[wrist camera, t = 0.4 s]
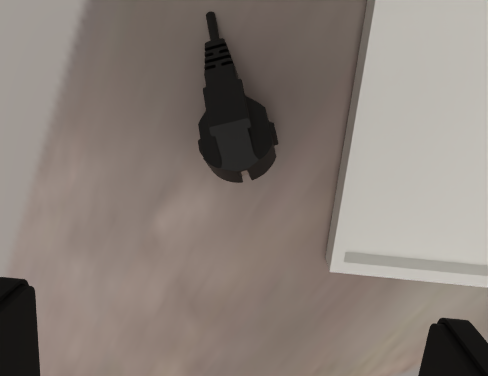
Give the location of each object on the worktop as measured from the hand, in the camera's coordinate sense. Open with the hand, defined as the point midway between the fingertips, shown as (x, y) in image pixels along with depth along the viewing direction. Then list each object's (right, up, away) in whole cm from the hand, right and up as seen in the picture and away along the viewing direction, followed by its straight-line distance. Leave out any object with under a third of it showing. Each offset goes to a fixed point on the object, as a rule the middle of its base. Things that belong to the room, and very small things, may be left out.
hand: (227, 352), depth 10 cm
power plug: (-1, +11, +23) cm, 26 cm away
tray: (+18, +9, +23) cm, 30 cm away
